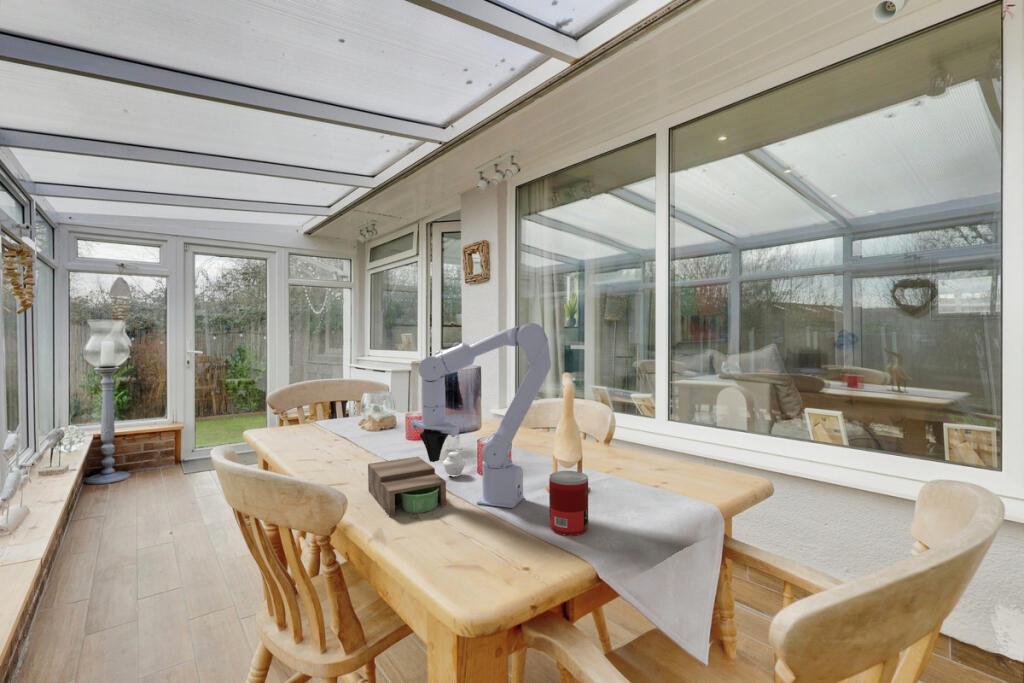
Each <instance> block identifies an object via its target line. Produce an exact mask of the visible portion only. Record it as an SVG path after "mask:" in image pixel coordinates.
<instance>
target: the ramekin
mask: <svg viewBox="0 0 1024 683" xmlns="http://www.w3.org/2000/svg"><path fill="white" fill-rule="evenodd" d="M438 491H439V487H438V486H435V487H429V488H424V489H419V490H413V491H408V492H402V493H400V494H401V499H402V503H401V508H402V509H403V510H404V511H405V512H407V513H411V514H418V513H419V514H422V513H426V512H430V511H432V510H435V508H437V506H438V503H437V500H438Z"/></svg>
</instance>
